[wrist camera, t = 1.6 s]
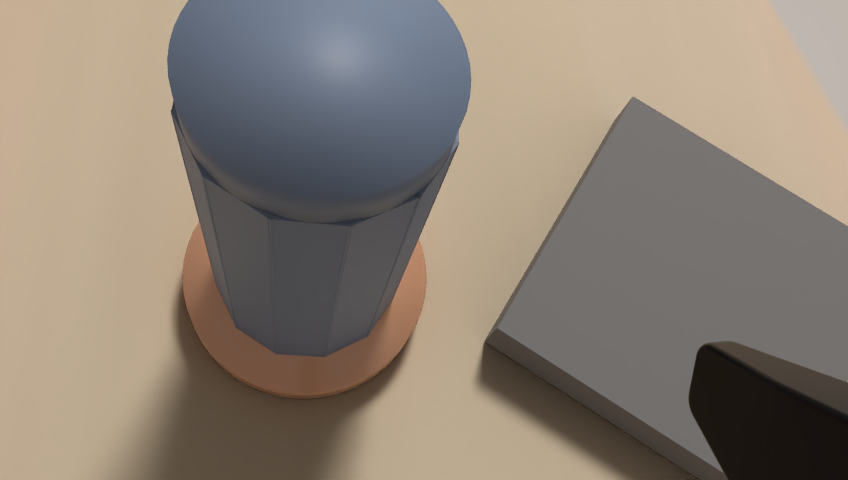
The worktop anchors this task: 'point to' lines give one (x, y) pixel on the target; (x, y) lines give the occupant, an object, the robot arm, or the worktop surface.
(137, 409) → the worktop surface
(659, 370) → the rubber mat
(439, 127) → the domed octagonal peg
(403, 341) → the terracotta saucer
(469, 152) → the worktop surface
